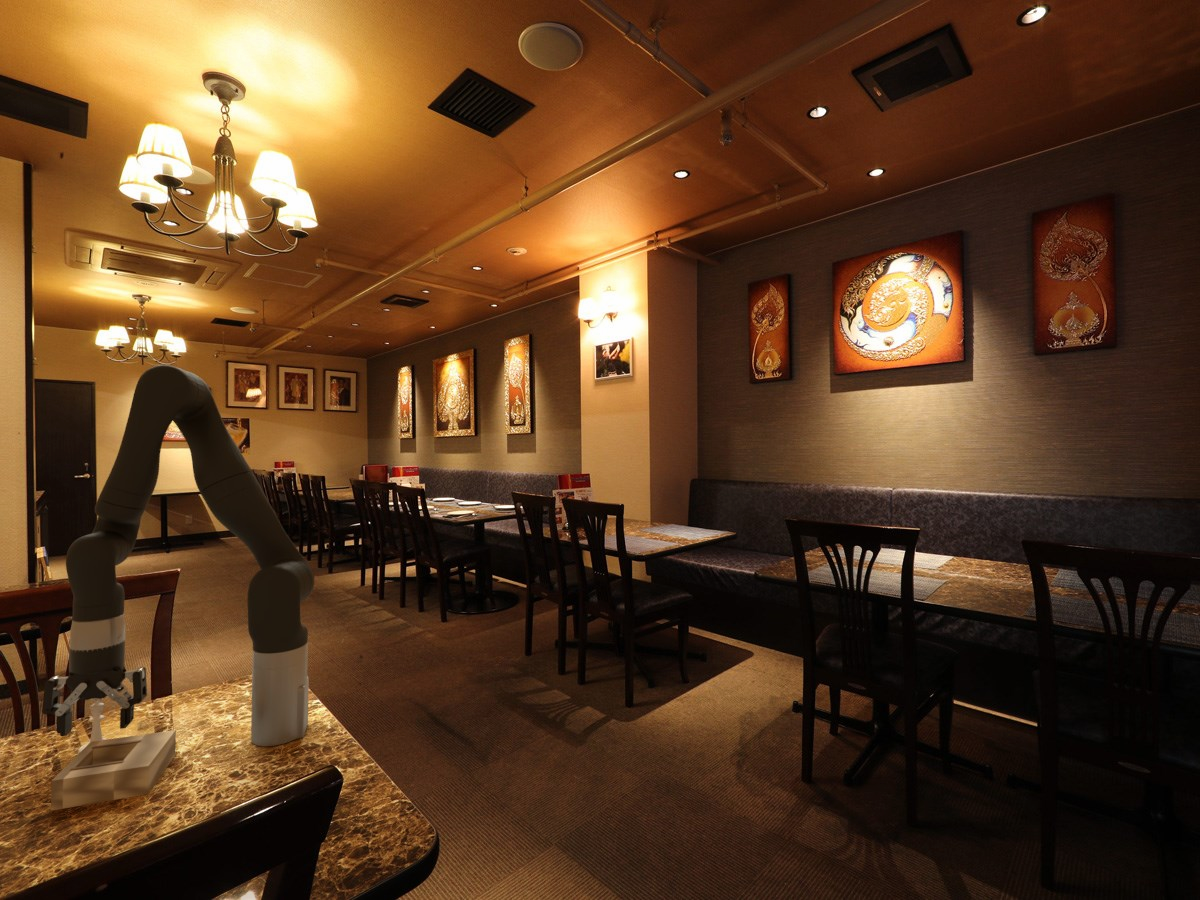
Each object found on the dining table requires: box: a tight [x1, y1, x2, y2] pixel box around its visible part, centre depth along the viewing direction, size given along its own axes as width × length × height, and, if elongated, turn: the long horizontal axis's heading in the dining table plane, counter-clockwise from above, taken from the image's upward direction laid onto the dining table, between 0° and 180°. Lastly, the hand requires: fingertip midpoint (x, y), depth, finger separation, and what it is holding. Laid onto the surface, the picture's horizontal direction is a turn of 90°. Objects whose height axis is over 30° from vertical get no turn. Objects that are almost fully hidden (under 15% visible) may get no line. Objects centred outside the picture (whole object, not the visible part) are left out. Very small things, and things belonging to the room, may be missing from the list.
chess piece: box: [77, 698, 108, 755], centre depth 100 cm, size 5×5×10 cm
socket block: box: [50, 729, 177, 811], centre depth 91 cm, size 12×12×5 cm
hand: (95, 730), depth 101 cm, fingers open, 8 cm apart
